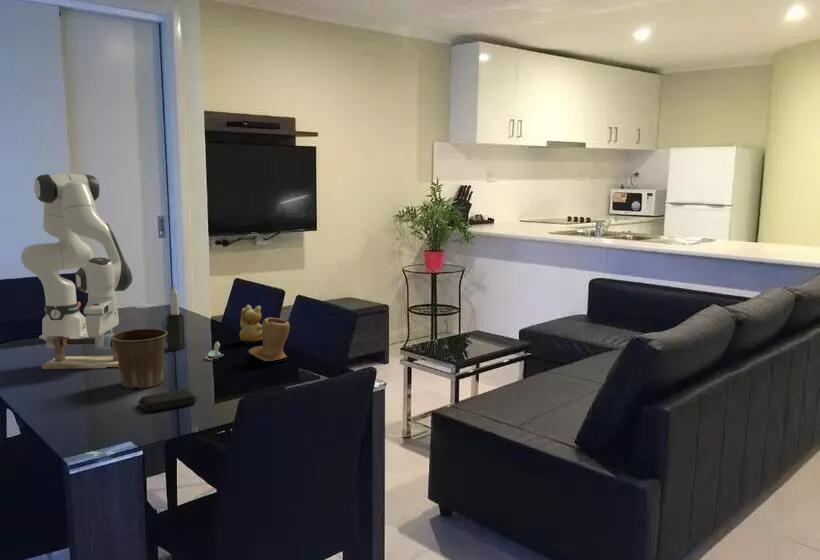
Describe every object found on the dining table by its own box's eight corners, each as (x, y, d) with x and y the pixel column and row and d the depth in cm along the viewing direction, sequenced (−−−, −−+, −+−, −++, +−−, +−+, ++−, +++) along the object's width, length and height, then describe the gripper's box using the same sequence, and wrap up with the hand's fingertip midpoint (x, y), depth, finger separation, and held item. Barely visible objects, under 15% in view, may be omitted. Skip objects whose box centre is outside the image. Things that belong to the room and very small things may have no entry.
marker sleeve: (100, 346, 233) (99, 333, 232) (114, 345, 233) (114, 333, 233) (95, 349, 228) (94, 336, 228) (110, 349, 229) (109, 336, 228)
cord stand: (57, 359, 236) (55, 333, 235) (132, 358, 238) (130, 332, 237) (41, 369, 224) (39, 340, 223) (120, 367, 226) (119, 339, 225)
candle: (179, 350, 250) (176, 285, 247) (166, 349, 251) (163, 285, 248) (186, 347, 255) (183, 283, 251) (174, 346, 256) (171, 283, 252)
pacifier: (209, 362, 235) (225, 359, 238) (207, 345, 234) (224, 343, 237) (202, 358, 241) (218, 355, 244) (201, 341, 240) (217, 339, 243)
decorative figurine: (266, 340, 267) (265, 304, 265) (259, 345, 259) (258, 308, 257) (243, 339, 268) (241, 303, 266) (235, 344, 260) (234, 307, 258)
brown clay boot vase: (295, 360, 237) (294, 320, 235) (264, 366, 230) (263, 323, 228) (277, 352, 249) (277, 313, 247) (247, 356, 242) (246, 316, 240)
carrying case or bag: (187, 395, 199) (136, 405, 190) (187, 386, 198) (135, 394, 189) (199, 405, 190) (146, 415, 181) (198, 395, 190) (145, 404, 181)
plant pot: (135, 395, 198) (132, 342, 195) (103, 386, 206) (100, 335, 204) (180, 381, 211) (178, 332, 209) (148, 373, 220) (145, 326, 218)
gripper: (104, 299, 239) (106, 336, 241) (81, 310, 219) (84, 351, 221) (122, 299, 239) (124, 336, 241) (101, 310, 219) (103, 350, 221)
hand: (104, 343), depth 231 cm, fingers closed on marker sleeve, 5 cm apart
